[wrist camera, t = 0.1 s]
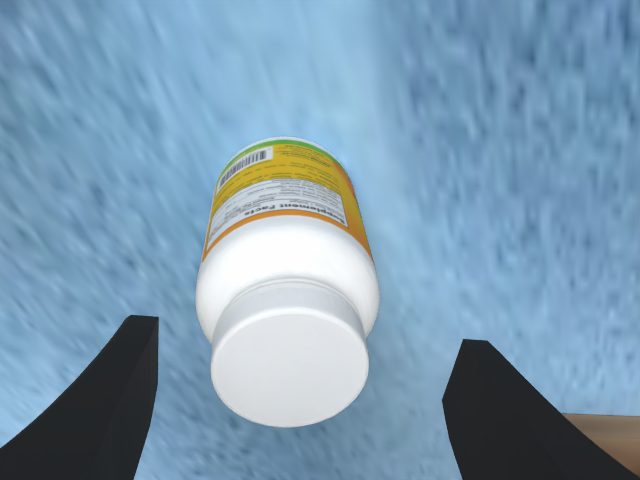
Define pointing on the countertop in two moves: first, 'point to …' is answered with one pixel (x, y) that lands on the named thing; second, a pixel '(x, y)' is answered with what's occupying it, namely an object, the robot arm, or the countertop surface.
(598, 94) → the countertop surface
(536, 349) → the countertop surface
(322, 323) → the supplement bottle
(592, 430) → the brown piece
